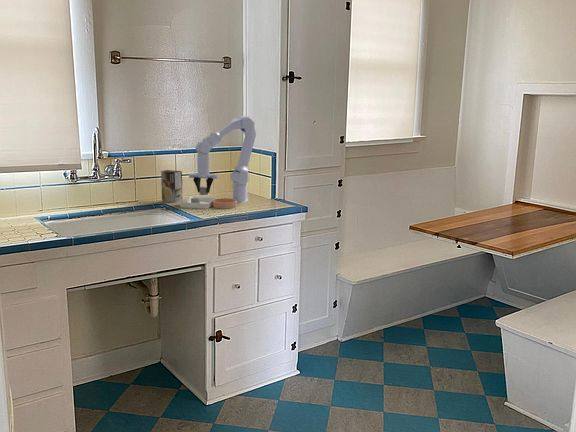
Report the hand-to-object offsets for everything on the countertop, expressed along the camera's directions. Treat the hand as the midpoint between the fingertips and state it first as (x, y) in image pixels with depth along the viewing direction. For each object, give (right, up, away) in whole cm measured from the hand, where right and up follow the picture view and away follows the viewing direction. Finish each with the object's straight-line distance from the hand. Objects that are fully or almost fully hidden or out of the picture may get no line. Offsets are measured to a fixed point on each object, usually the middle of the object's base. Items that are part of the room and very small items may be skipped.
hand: (203, 192), depth 310 cm
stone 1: (-3, -7, -7) cm, 11 cm away
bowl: (+11, -8, -6) cm, 15 cm away
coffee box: (-17, -5, +6) cm, 18 cm away
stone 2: (0, -1, 0) cm, 1 cm away
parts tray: (-2, -7, -3) cm, 8 cm away
